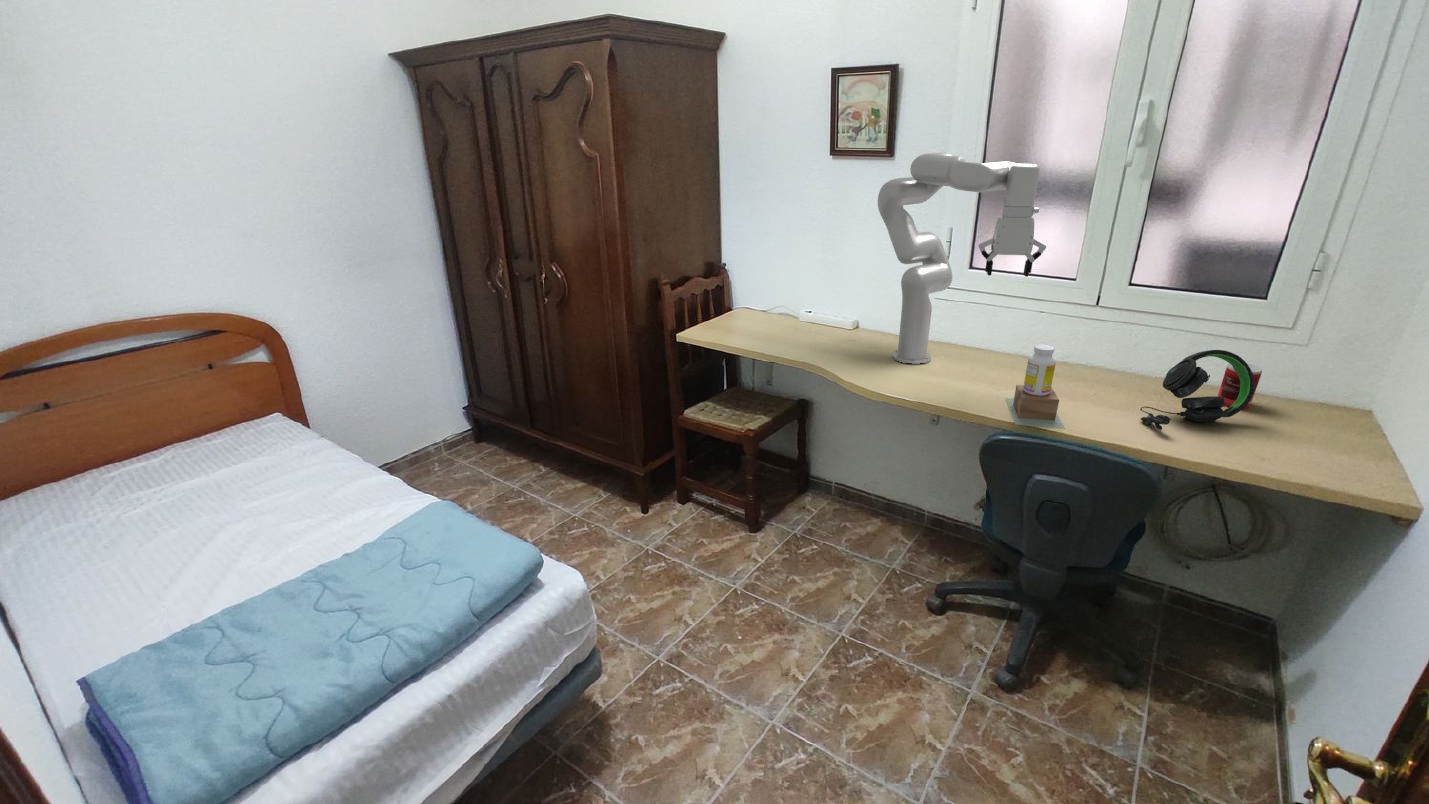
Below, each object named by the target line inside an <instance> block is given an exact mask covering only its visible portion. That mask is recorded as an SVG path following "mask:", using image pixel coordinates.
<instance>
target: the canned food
mask: <svg viewBox="0 0 1429 804" xmlns="http://www.w3.org/2000/svg"><path fill="white" fill-rule="evenodd" d="M1246 363H1247V362H1246ZM1247 364H1248V366H1249V367H1250V369H1251V371H1252V373H1253V376H1254V380H1255V389H1254V394H1253V396H1252V398H1251V400H1250V402H1249V403H1248V404H1247V406H1246V407H1245V408H1244V409H1243V410H1245V409H1249V408H1250V406H1251V405H1252V401H1253V399H1254V397H1255V393H1256V391H1257V389H1258V388H1257V387H1258V385H1259V382H1260V379H1261V378H1262V377H1261V376H1262V373H1263V368H1262V367H1260V366H1258V365H1255V364H1253V363H1247ZM1239 393H1240V378H1239V375H1237V373H1236V371H1235V370H1234V368H1233V366H1232V365H1231V364H1230V363H1228V364H1227V366H1226V368H1225V371H1224V374H1223V378H1222V381H1221V384H1220V387H1219V390H1218V393H1217V397H1223V398H1224V400H1225V404H1224V405H1225V407H1227V408H1229V407H1230V406H1231V405H1232V404H1233V403H1234V402H1235V401H1236V400H1237V398H1238V396H1239Z"/></svg>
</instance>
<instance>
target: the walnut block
mask: <svg viewBox="0 0 1429 804" xmlns="http://www.w3.org/2000/svg"><path fill="white" fill-rule="evenodd" d="M1023 387H1024V384H1022V385H1021V384H1016V387H1015V391H1014V402H1013V406H1014V408H1015V410H1016V413H1017V415H1018V417H1019V418H1027V419H1040V420H1054V421H1055V418H1056V413H1057V412H1058V407H1059V403H1060V399H1059V397H1058V395H1057V394H1056V392H1055V390H1054V389H1053V387H1052V386H1051V390H1050V393H1049V394H1048V395H1045V396H1036V395H1031V394H1028V393H1026V392H1025V391H1024V389H1023ZM1057 414H1058V413H1057Z"/></svg>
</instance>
